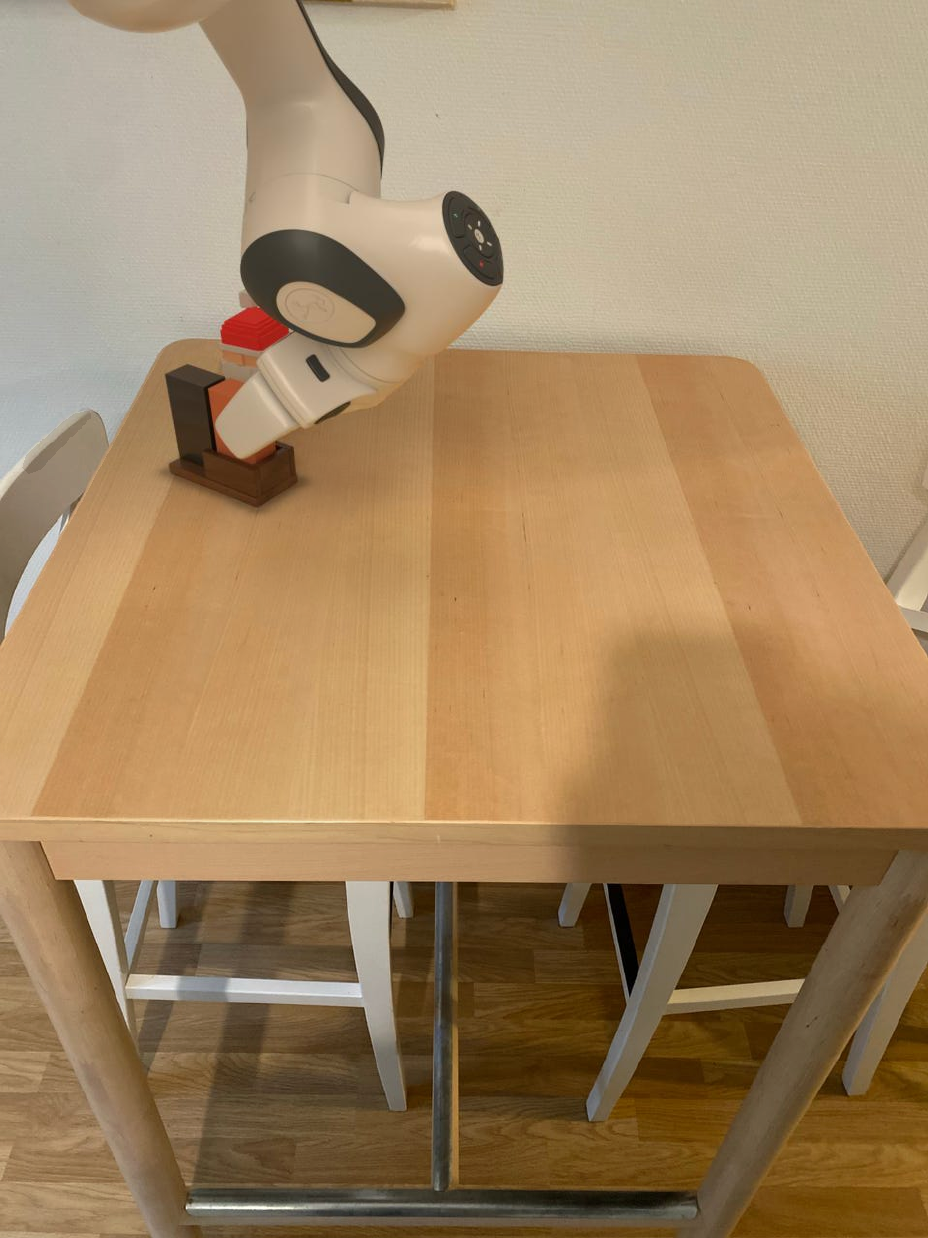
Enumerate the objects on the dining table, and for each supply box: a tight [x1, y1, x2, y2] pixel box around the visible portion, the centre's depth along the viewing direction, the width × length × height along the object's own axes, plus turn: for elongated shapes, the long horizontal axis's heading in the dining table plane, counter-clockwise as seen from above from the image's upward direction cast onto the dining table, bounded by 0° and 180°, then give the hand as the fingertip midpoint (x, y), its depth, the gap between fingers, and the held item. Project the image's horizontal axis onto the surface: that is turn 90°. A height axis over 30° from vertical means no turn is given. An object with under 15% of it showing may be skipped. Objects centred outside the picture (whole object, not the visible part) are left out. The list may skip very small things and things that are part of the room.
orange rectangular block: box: [208, 378, 276, 465], centre depth 87 cm, size 3×5×9 cm, turn 58°
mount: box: [164, 363, 298, 508], centre depth 88 cm, size 6×12×10 cm, turn 58°
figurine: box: [218, 288, 293, 383], centre depth 100 cm, size 8×7×12 cm
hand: (274, 426), depth 84 cm, fingers open, 8 cm apart
